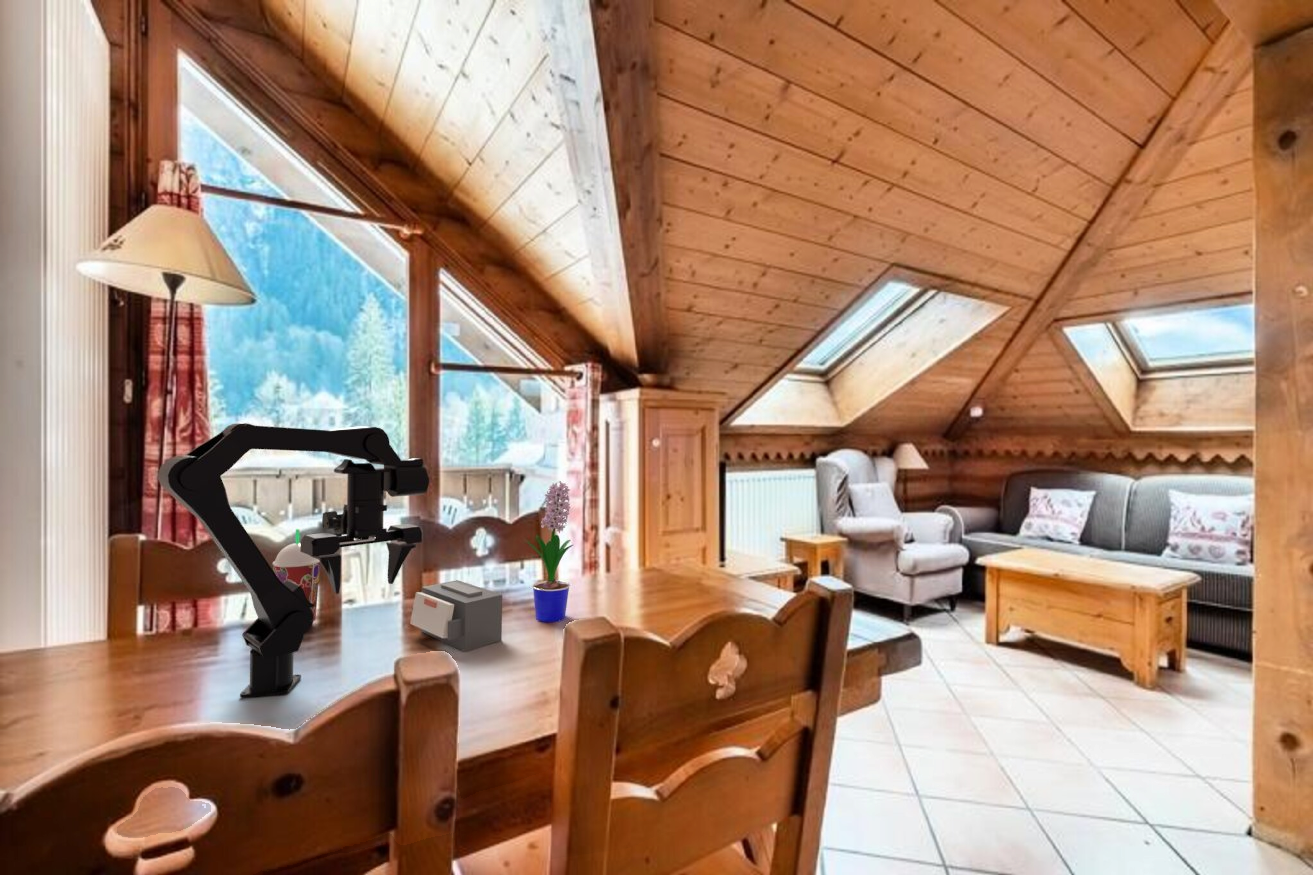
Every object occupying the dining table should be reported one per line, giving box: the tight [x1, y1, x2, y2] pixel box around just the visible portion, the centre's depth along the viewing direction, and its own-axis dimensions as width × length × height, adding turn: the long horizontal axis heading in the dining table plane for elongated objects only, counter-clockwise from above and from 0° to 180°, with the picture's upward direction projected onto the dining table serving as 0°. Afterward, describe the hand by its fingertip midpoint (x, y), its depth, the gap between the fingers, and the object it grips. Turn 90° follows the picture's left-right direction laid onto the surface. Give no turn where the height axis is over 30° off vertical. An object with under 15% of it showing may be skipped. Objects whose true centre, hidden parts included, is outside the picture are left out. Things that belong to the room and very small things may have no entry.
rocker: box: [409, 591, 454, 638], centre depth 114 cm, size 2×12×6 cm, turn 50°
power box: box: [411, 579, 503, 652], centre depth 118 cm, size 10×16×10 cm, turn 50°
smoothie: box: [272, 529, 321, 628], centre depth 121 cm, size 8×8×20 cm
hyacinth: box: [524, 480, 574, 623], centre depth 131 cm, size 9×10×30 cm
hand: (364, 588), depth 104 cm, fingers open, 9 cm apart
